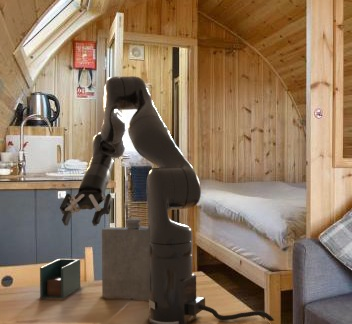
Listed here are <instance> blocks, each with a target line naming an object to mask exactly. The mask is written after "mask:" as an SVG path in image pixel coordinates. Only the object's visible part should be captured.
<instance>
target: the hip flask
mask: <svg viewBox="0 0 352 324" xmlns="http://www.w3.org/2000/svg"><path fill="white" fill-rule="evenodd" d="M141 222H142V219H141V218H135V217H133V218H126V219H125V223H126V227H103V228H101V281H102V282H101V285H102V286H101V288H102V289H101V290H102V291H101V293H102V295H101V296H102V298H128V299H130V300H131V301H132V300H135V301H147V302H149V300H150V265H149V256H150V255H149V242H150V241H149V227H148V226H142V225H141V224H140V223H141Z"/></svg>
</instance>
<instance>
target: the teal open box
mask: <svg viewBox="0 0 352 324" xmlns="http://www.w3.org/2000/svg"><path fill="white" fill-rule="evenodd" d="M54 276H61V296H47V280H48V279H50V278H52V277H54ZM80 288H81V259H80V258H58V259H55V260H54V261H51V262H49V263H46V264H45V265H42V266H41V267H39V297H40V299H64V298H66V297H68V296H69V295H70V294H72V293H73V292H75V291H76V290H79V289H80Z"/></svg>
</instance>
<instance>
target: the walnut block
mask: <svg viewBox="0 0 352 324" xmlns="http://www.w3.org/2000/svg"><path fill="white" fill-rule="evenodd" d="M47 296H61V276H54V277H52V278H50V279H48V280H47Z"/></svg>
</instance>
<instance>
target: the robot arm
mask: <svg viewBox="0 0 352 324" xmlns="http://www.w3.org/2000/svg"><path fill="white" fill-rule="evenodd" d="M103 91H104V93H103V122H102V125H101V129H100V132H98V133H96V134H95V135H94V136H93V138H92V143H91V146H92V147H91V148H92V151H91V152H92V154H91V155H92V156H91V159H90V162H89V165H88V167H87V169H86V171H85V172H84V175H83V178H82V179H81V182H80V184H79V187H78V190H77V193H76V194H75V195H71V194H70V193H66V194H65V196H64V198H63V200H62V202H61V204H60V206H59V210H60V211H61V214H62V218H61V222H62V223H63V225H64V226H65V227H67V226H69V223H70V221H71V219H72V215H73V214H75V213H78V212H79V211H81V210H90V211H91V210H93V209H94V210H95V212H94V215H93V217H92V220H91V223H92V226H93V227H97V226H98V225H100V222H101V219H102V216H103V215H110V212H111V209H112V205H113V200H114V199H113V197H112V195H111V193H107V194H106V195H105V193H106V190H107V187H108V185H109V183H110V182H109V181H110V177H111V174H112V171H113V167H114V164H115V161H114V159H119V158H120V157H123V155H124V153H125V150H126V141H125V136H124V135H125V132H126V130H127V133H128V136H129V139H130V141H131V144H132V145H133V147H134V150H135V151H136V153H138V155H140V157H142V158H143V159H145V160H146V161H148V162H150V163H151V164H152V165H154V166H156V167H153V168H152V169H150V170H149V172H148V174H147V178H146V187H145V188H146V203H147V205H146V207H147V227H149V241H150V242H149V255H150V256H149V265H150V300H149V301H148V308H149V315H148V317H149V318H148V319H149V323H150V324H190V323H191V322H192V321H193V320H195V318H197V315H198V314H199V313H201V312H202V311H204V312H208V313H210V314H212V316H213V317H214V318H215V319H217V320H219V321H231V320H237V319H240V318H248V317H256V316H260V317H263V318H265V319H266V320H267V321H270V322H273V321H275V319H274V318H273V316H272V315H270V314H269V313H267V312H265V311H262V310H251V311H246V312H245V311H244V312H238V313H235V314H228V315H227V314H225V315H222V314H220V313H219V312H218V311H217V310H216V309H214V308H212V307H210V306H207V305H206V297H202V296H197V275H196V273H193V229H192V227H190V226H189V225H186V224H182V223H179V222H176V221H174V220H172V219H171V218H170V215H169V211H172V210H186V209H190V208H194V207H195V206H196V205H198V204H199V202H200V200H201V197H202V188H201V182H200V179H199V177H198V175H197V173H196V171H195V170H194V168H193V166H192V165H191V164H190V163H189V161H188V160H187V159H186V157H185V156H184V155H183V153H182V152H181V150H180V149H179V147H178V146H177V144H176V143H175V141H174V139H173V138H172V136H171V134H170V131H169V130H168V127H167V126H166V124H165V122H164V121H163V118H162V117H161V116H160V114H159V113H158V111H157V108H156V107H155V105H154V102H153V100H152V97H151V94H150V92H149V89H148V87H147V85H146V83H145V81H144V80H143V78H141V77H139V76H111V77H108V78H107V79H106V82H105V85H104V90H103ZM127 110H128V111H130V110H131V111H132V110H136V111H135V112H134V114H133V115H132V117H131V118H130V120H129V123H128V127H127V121H126V119H125V116H124V115H123V114H122V112H121V111H127ZM102 202H103V203H104V204H103V207H102V208H101V206H100V204H101V203H102Z"/></svg>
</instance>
